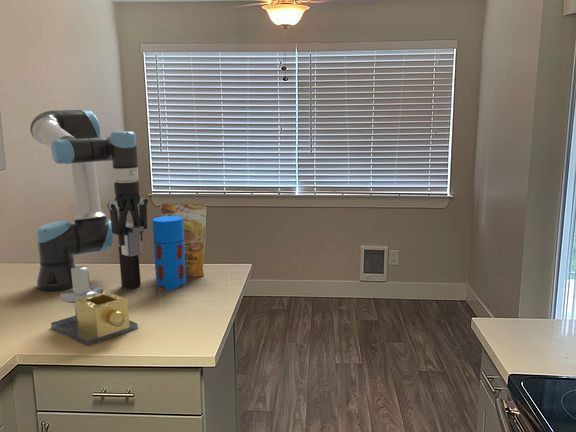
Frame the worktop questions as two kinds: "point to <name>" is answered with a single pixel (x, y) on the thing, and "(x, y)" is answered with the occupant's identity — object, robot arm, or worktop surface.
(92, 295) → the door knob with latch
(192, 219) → the pancake mix bag
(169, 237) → the thermos
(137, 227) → the grey slab block
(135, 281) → the bottle
